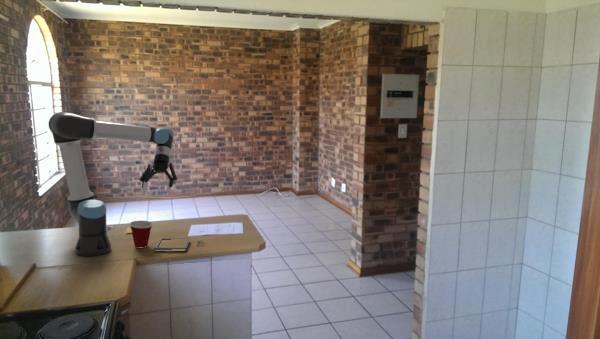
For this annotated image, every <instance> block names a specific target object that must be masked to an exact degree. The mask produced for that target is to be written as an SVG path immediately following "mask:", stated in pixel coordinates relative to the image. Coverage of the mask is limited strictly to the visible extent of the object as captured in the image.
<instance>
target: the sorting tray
mask: <svg viewBox="0 0 600 339" xmlns="http://www.w3.org/2000/svg"><path fill="white" fill-rule="evenodd" d="M171 239H187V241H186V243H185V246H184V247H159V245H160V243H161V241H162V240H171ZM189 239H190V237H160V238H159V240H158V241H157V243H156V244H155V246H154V247H153V248H154V249H153V251H154V250H172V249H186V247H187V244H188V241H189ZM187 248H188V247H187Z"/></svg>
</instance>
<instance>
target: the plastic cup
mask: <svg viewBox="0 0 600 339" xmlns="http://www.w3.org/2000/svg"><path fill="white" fill-rule="evenodd" d="M153 225H154V223H153V222H152V221H148V220H133V221H131V222H129V226H130V230H131V234H132V241H133V243H134V247H145V246H147V247H148V245H149V239H150V236H151V235H150V234H151V229H152V227H153Z"/></svg>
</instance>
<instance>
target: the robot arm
mask: <svg viewBox="0 0 600 339" xmlns="http://www.w3.org/2000/svg"><path fill="white" fill-rule="evenodd" d="M48 129H49V131H50V132H51V133H52V136H53V137H52V138H53V142H54V144H55V145H56V146H58V147H59V151H60V155H61V156H60V157H61V160H62V163H63V169H64V172H65V173H64V174H65V178H66V182H67V186H68V189H69V191H68V192H69V195H68V197H67V202H68V206H67V209H68V214H69V216H70V217H71V219H73V220H74V221H76V222H77V223H78V239H77V242H76V245H75V254H76V255H77V256H81V257H97V256H101V255H104V254H105V255H106V254H107V253H109V252H110V251H111V250H112V244H111V241H110V239H109V237H108V234H107V207H106V203H105V202H104V201H102V200H100V199H99V200H98V199H96V198H95V196H96V195H95V193H94V192H93V191H91V189H90V185H89V181H88V180H89V179H88V176H87V172H86V167H85V163H84V158H83V152H82V147H81V142H82V140H92V139H94V138H98V139H99V138H100V139H110V140H120V141H121V140H122V141H123V140H124V141H132V142H133V141H134V142H144V143H153V144H156V148H155V154H154V159H153V164H150V163H148V164H147V167H146V168H145V170H144V172H143V173H142V175H141V177H140V178H139V181H140V182H142V184H141V190H142V191H141V194H142V195H143V196H146V195H147V190H148V185H149V183H148V182H149V181H150V180H151V179H152V178H153V177H154V176H155V175H157V174H165V176H166V177H167V178H168V180H167V185H166V190H165V192H166V194H168V195H170V194H171V190H172V188H173V186H174V182H175V181H178V176H177V174H176V172H175V165H174V164H173V163H172V162H170V157H171V151H172V147H173V146H172V145H173V140H174V132H173V130H172V129H170V128H166V127H155V126H151V125H148V124H146V123H140V124H138V125H135V124H126V123H119V122H118V123H117V122H111V121H110V122H109V121H100V120H99V121H98V120H95V119H94V117H93V118H92V117H86V116H82V115H78V114H75V113H72V112H67V111H60V112H56V113H54V114H52V116H51V117H50V118H49V120H48ZM168 168H169V170H168ZM169 171H170V173H171V174H170V173H169Z"/></svg>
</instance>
